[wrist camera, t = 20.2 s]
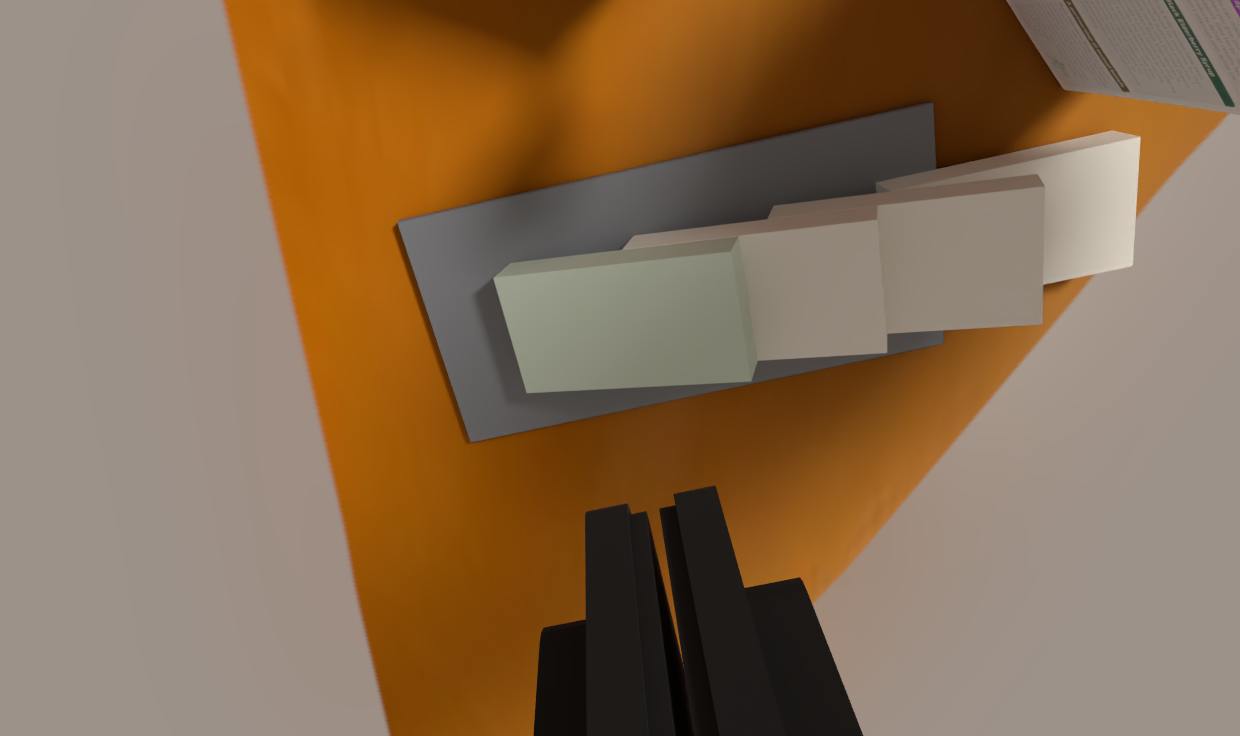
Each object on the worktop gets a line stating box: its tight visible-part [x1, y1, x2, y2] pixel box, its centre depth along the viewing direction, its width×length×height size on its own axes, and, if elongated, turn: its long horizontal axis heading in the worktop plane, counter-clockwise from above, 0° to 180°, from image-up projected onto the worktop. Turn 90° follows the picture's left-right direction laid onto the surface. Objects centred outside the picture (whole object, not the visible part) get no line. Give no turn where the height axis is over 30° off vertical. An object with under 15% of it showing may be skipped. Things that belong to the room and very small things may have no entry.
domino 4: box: [876, 131, 1140, 285], centre depth 37 cm, size 2×6×11 cm
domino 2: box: [622, 206, 887, 361], centre depth 36 cm, size 2×6×11 cm
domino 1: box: [493, 236, 757, 393], centre depth 36 cm, size 2×6×11 cm
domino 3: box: [768, 174, 1045, 334], centre depth 35 cm, size 2×6×11 cm
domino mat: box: [397, 102, 944, 442], centre depth 39 cm, size 25×12×1 cm, turn 102°
